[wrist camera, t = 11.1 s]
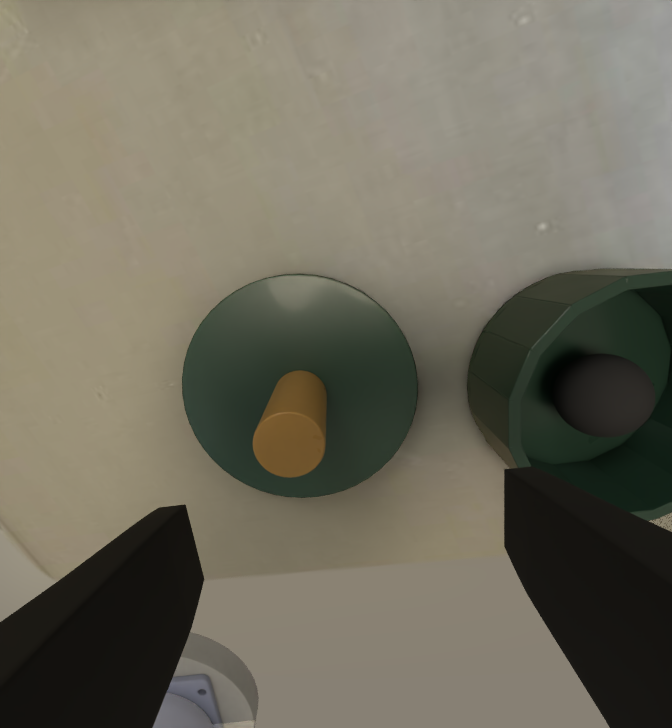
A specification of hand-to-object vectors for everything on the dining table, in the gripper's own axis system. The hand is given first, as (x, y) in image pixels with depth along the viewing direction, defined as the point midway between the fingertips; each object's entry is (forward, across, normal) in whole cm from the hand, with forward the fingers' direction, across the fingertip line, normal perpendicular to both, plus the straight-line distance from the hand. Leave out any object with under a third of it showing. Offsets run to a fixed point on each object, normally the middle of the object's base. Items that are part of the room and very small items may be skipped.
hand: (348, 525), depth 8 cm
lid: (+10, +2, 0) cm, 10 cm away
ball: (+8, -11, +1) cm, 14 cm away
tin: (+10, -11, +1) cm, 15 cm away
